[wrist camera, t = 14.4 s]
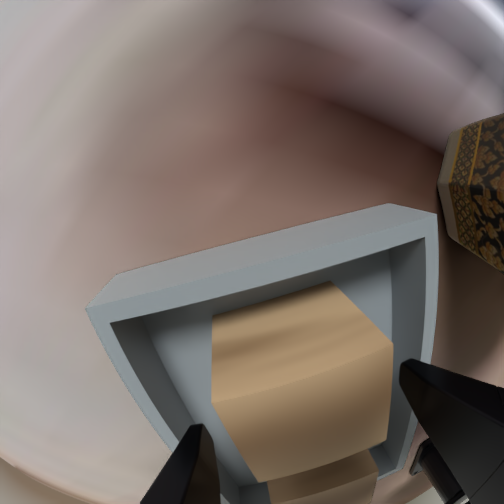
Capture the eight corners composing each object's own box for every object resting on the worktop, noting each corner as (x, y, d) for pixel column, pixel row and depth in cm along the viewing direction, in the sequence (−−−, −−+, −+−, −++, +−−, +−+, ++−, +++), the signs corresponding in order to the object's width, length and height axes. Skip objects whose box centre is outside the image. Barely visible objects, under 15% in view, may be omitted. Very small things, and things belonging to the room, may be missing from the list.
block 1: (342, 369, 12) (385, 439, 7) (245, 399, 11) (258, 482, 7) (330, 280, 10) (393, 343, 6) (212, 315, 10) (211, 402, 6)
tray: (385, 439, 15) (402, 468, 12) (231, 484, 14) (234, 519, 12) (388, 203, 10) (436, 214, 8) (116, 274, 10) (85, 308, 7)
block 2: (345, 447, 14) (370, 502, 9) (273, 469, 13) (287, 528, 9) (344, 404, 12) (379, 470, 8) (257, 430, 12) (271, 504, 8)
